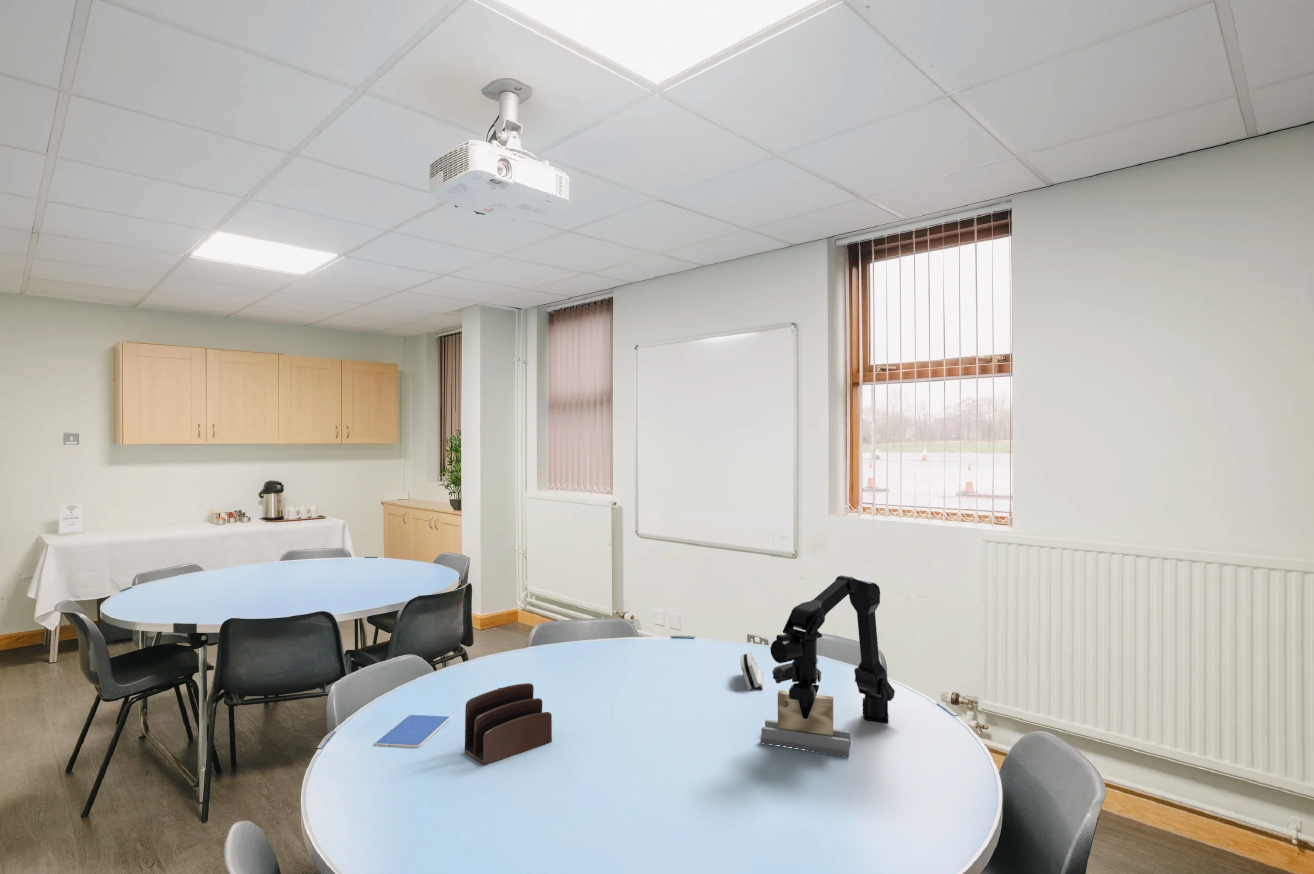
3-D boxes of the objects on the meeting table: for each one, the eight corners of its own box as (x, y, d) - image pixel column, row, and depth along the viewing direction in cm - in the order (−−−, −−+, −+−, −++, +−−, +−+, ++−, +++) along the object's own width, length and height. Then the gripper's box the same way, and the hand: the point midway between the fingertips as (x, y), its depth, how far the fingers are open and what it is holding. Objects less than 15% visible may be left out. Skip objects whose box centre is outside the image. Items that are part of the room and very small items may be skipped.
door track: (850, 742, 170) (850, 729, 171) (848, 757, 162) (848, 743, 162) (766, 730, 178) (766, 717, 178) (760, 743, 169) (760, 730, 170)
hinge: (763, 690, 210) (753, 660, 211) (749, 694, 210) (739, 664, 211) (763, 673, 226) (753, 645, 227) (750, 677, 227) (740, 649, 228)
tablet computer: (419, 750, 165) (419, 745, 165) (372, 747, 167) (372, 742, 167) (451, 720, 185) (451, 716, 185) (409, 718, 186) (409, 713, 186)
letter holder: (463, 753, 163) (464, 696, 164) (531, 731, 177) (532, 678, 177) (483, 766, 156) (484, 707, 157) (552, 742, 170) (553, 687, 170)
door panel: (833, 731, 169) (833, 696, 169) (832, 736, 166) (832, 700, 166) (779, 724, 174) (779, 690, 174) (777, 728, 171) (777, 694, 171)
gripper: (780, 643, 182) (780, 700, 182) (768, 663, 165) (768, 725, 164) (821, 647, 179) (821, 705, 178) (813, 668, 161) (813, 732, 161)
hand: (805, 716), depth 170 cm, fingers closed on door panel, 2 cm apart
